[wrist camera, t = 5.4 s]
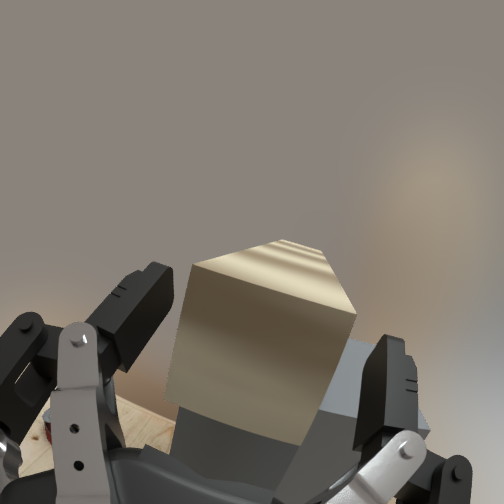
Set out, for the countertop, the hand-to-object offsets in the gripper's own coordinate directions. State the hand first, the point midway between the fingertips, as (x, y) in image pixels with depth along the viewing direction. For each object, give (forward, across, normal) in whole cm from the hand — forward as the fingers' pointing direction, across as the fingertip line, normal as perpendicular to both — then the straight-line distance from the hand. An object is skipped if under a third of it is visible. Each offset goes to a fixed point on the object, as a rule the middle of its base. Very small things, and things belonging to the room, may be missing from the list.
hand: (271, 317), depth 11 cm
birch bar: (+6, 0, +6) cm, 8 cm away
